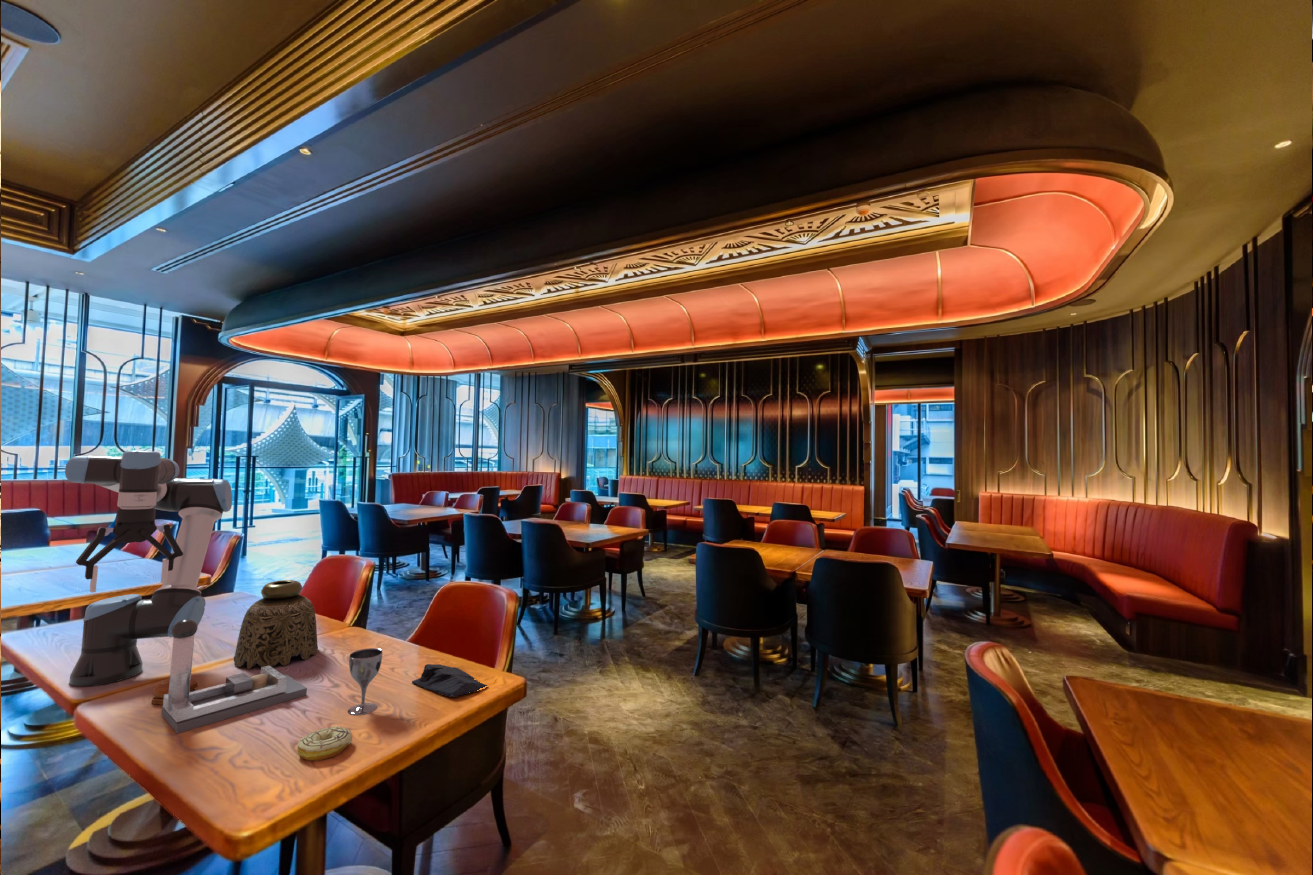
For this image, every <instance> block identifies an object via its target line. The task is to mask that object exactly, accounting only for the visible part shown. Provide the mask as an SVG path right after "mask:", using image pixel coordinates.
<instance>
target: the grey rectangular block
mask: <svg viewBox="0 0 1313 875" xmlns="http://www.w3.org/2000/svg"><path fill="white" fill-rule="evenodd" d="M250 677H251V676H249V675H248V674H246V673H245V672H242V673H237V674H232V675H230V676H229V675H228V676H226V677H225V683H226V684H225V697H227V698H228V697H231V696H235V695H239V694H242V693H246V692H250V691H252V684H253V679H252V678H250Z"/></svg>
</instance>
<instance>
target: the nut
mask: <svg viewBox="0 0 1313 875" xmlns="http://www.w3.org/2000/svg"><path fill="white" fill-rule="evenodd" d="M249 677H250V678H252V679H253V684H252V691H253V690H257V689H261V688H264V687H267V677H268V675H267V674H261V673H260V674H256V675H255V674H254V675H253V676H249Z"/></svg>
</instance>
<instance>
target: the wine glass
mask: <svg viewBox="0 0 1313 875" xmlns="http://www.w3.org/2000/svg"><path fill="white" fill-rule="evenodd" d="M348 660H349V661H348V665H349V667H348V668H349V673H350V674H349V675H350V676H351V678H352V680H354V681H355V682H356V683H357V684H358V685H359V687H360V692H361V700H360V703H359V704H356V705H353V706H351V707H350V708H349V709H347V714H348V715H350V716H363V715H368V714H370V713H372V712H374V711H376V710H377V709H378V705H377V704H376V703H373V702H365V701H366V692H367V688H368V686H369V684H371V682H372V681H373V680H374V678H376V677H377V675H378V674H379V672H380V669H381V666H382V660H383V650H382V649H381V648H375V647H374V648H373V647H372V648H361V649H358V650H355V651H353V652H351V653H350V654H349V658H348Z"/></svg>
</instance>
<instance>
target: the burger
mask: <svg viewBox="0 0 1313 875" xmlns="http://www.w3.org/2000/svg"><path fill="white" fill-rule="evenodd" d="M169 682H170V679H169V680H165V681H163V682H160V683H158V684H157V685H156V686H155V687H154V688H153V690H152V694H153V697H152V698H151V704H153V705H161V706H163V699H164V695H165V694H169ZM198 687H199V682H198V681H197V680H196V679H195V678H192V677H191V680H190V692H193V691H197V689H198Z"/></svg>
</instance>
